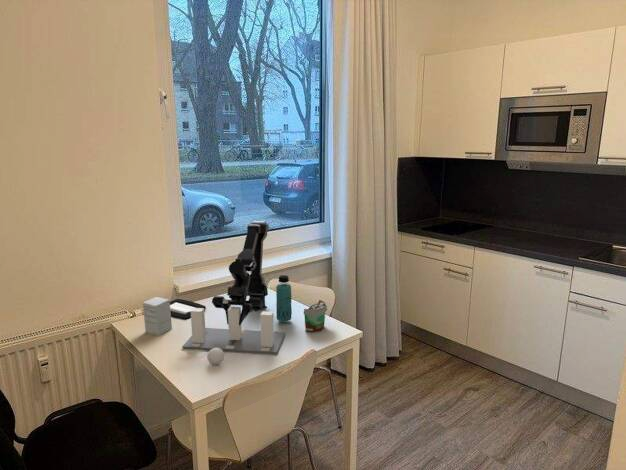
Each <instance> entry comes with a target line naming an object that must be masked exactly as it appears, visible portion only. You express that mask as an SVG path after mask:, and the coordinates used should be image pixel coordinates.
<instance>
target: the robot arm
mask: <svg viewBox="0 0 626 470" xmlns="http://www.w3.org/2000/svg"><path fill="white" fill-rule="evenodd" d="M269 226H270V225H269V223H267V222H266V221H255V220H253V221H251V223H247V227H246V228H247V229H246V237H245V240H244V244H243V248H242V250H241V251H240V252H239V253H238V255H237V257H236V258H235V260H234V261H232V262H231V263H230V264H229V265H228V272H229V273H230V276H231V277H232V279H233V280H234V282H233V285H232V286H228V287H227V294H226V295H227V296H228V298H229V299H227V298H226V299H225V296H223V295H215V296H213V297H212V299H211V304H212V305H213V306H214V308H216V309H223V310H224V311H225V317H226V318H225V319H226V324H227V325H228V309H229V307H232V306H240V307H241V315H240V319H239V325H241V326H242V323H243V322H244V321H245V320H246V318H247V316H249V314H250V313H252V312H253V311H254V312H257V311H263V310H265V309H267V308H268V307H267V306H266V297H267V296H268V294H269V292H268V287H267V284H266V283H265V282H266V280H265V277H264V275H263V274H262V273H263V271H262V269H263V255H264V254H263V253H264V252H263V251H264V250H263V249H264V241H265V240H266V238H267V236H268V232H269V230H270V227H269ZM249 272H251V273H249ZM247 297H249V298H248V300H247Z"/></svg>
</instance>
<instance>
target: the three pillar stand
mask: <svg viewBox="0 0 626 470" xmlns="http://www.w3.org/2000/svg"><path fill="white" fill-rule="evenodd" d="M205 317H206V316H205V310H204V308H193V309H192V310H191V318H190V322H191V336H190V337H189V338H188V339H187V341H186V342H185V343H184V344H183V345H182V350H190V351H191V350H193V351H205V352H206V351H208V352H209V351H210V350H211V349H212V348H220V349H221V350H222V351H223V352H225V353H238V354H241V353H242V354H253V355H254V354H256V355H259V354H260V355H269V356H270V355H271V356H273V355H274V356H277V355H278V353H279V352H280V351H279V350H280V349H281V346H282V344H283V341H284V339H285V337H286V331H285V332H284V331H275V329H274V311H263V310H261V313H260V315H259V317H260V318H259V320H260V330H250V329H249V330H248V329H242V337H241V339H240V340H229V328H217V327H213V328H212V327H206V318H205Z"/></svg>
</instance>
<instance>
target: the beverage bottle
mask: <svg viewBox="0 0 626 470" xmlns="http://www.w3.org/2000/svg"><path fill="white" fill-rule="evenodd" d="M289 281H290V279H289V276H288V275H285V274H282V275H279V277H278V284H277V285H276V287H275V288H276V289H275V290H276V306H275V307H276V313H275V314H276V320H277V321H278V322H290V321H291V320H292V315H293V313H292V285H291V284H290V283H288V282H289Z"/></svg>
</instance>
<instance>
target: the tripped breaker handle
mask: <svg viewBox="0 0 626 470" xmlns="http://www.w3.org/2000/svg"><path fill="white" fill-rule="evenodd" d="M241 312H242V306H230V307H229V309H228V324H227V325H228V329H229V340H240V339H241V337H242V330H243V327H242V324H241V325H239V319H240V315H241Z"/></svg>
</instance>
